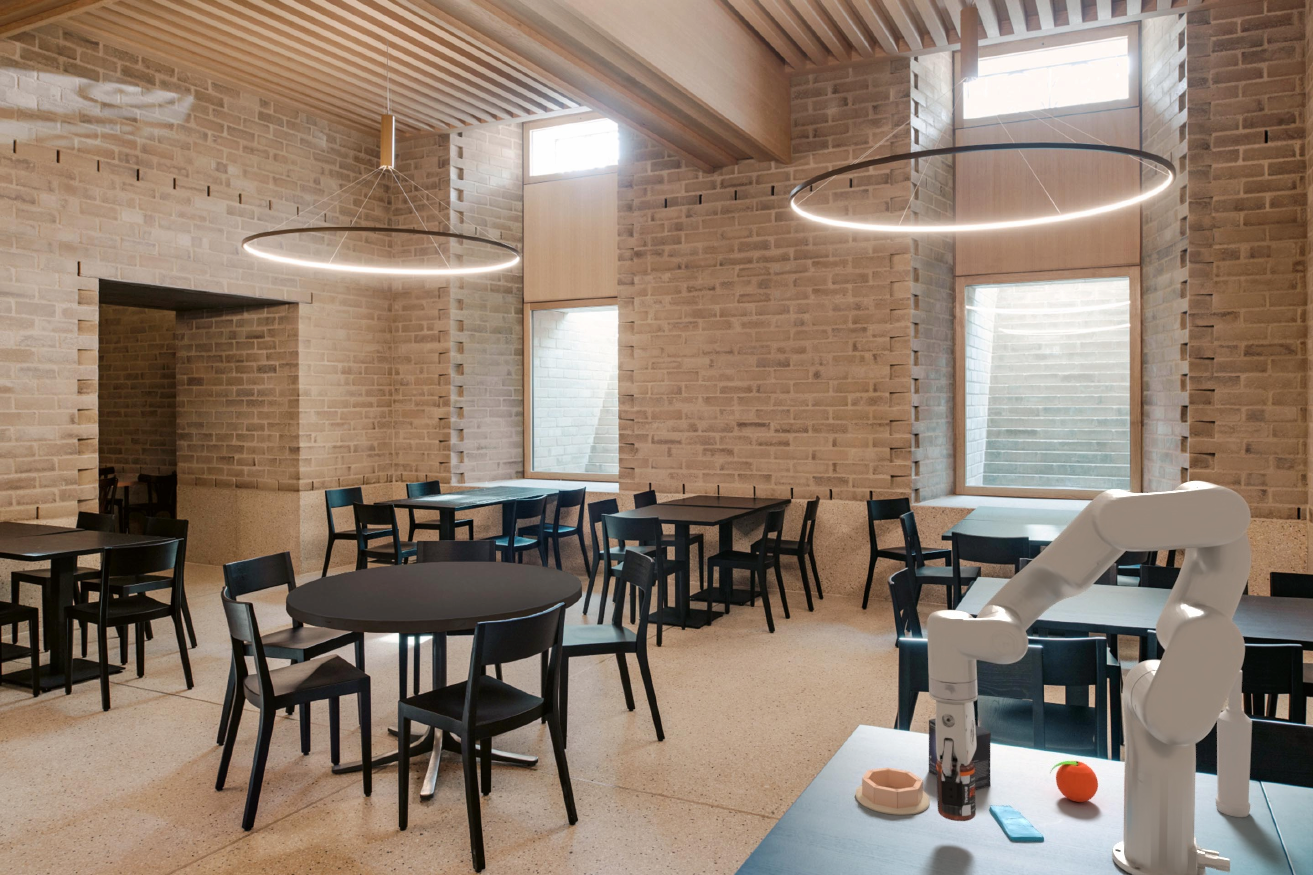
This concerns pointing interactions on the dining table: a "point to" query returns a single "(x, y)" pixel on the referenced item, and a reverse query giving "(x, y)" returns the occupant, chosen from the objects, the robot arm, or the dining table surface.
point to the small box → (979, 757)
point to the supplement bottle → (969, 803)
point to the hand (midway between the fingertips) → (956, 795)
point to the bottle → (1233, 756)
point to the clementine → (1076, 781)
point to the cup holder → (892, 792)
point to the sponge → (1015, 824)
